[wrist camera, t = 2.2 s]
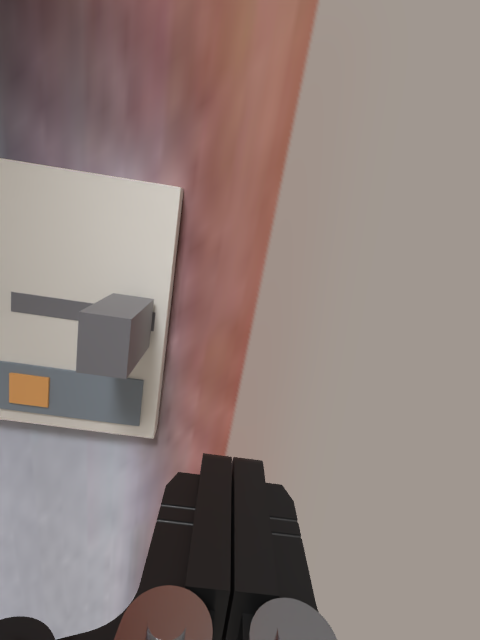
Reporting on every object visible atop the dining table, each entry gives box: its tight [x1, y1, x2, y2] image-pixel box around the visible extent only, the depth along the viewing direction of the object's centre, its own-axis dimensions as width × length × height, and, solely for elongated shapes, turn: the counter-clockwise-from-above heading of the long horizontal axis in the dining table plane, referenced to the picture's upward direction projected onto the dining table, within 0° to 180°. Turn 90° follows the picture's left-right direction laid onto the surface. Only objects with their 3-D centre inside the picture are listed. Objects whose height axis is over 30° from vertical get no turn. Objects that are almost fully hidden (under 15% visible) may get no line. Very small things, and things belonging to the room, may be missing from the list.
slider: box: [76, 293, 154, 379], centre depth 20 cm, size 3×2×5 cm
